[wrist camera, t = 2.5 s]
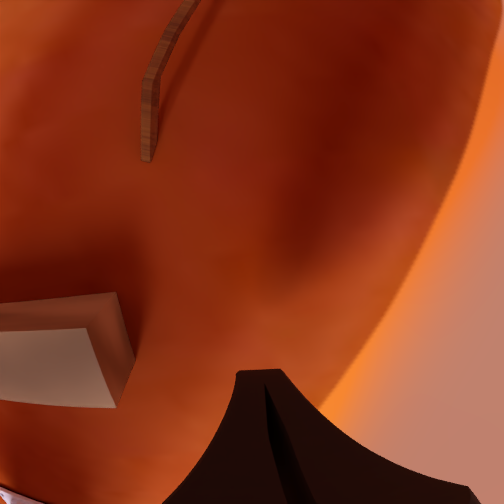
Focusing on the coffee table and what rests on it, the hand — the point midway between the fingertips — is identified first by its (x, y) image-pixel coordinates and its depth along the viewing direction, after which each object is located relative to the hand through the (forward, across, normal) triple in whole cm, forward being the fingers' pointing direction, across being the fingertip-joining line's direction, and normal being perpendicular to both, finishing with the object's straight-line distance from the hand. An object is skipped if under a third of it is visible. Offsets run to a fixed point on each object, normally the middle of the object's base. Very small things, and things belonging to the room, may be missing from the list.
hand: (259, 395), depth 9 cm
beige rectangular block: (+4, +10, 0) cm, 10 cm away
